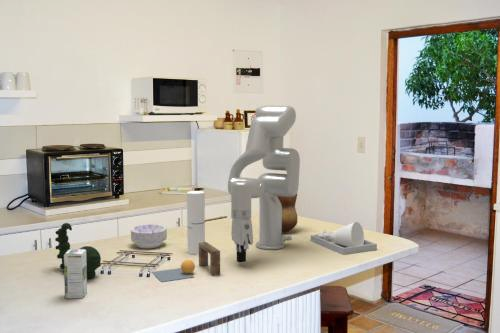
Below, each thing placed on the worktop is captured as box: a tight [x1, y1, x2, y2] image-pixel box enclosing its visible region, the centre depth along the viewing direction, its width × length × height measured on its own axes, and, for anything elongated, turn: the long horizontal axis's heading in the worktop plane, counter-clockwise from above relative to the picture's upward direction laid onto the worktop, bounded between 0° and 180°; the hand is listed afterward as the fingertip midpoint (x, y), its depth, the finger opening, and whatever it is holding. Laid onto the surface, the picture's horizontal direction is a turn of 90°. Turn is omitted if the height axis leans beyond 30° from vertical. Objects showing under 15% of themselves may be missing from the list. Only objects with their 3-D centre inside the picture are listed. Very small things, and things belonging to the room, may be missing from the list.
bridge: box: [198, 241, 221, 277], centre depth 197 cm, size 3×14×9 cm, turn 26°
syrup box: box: [63, 248, 88, 300], centre depth 170 cm, size 6×6×14 cm
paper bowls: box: [130, 223, 168, 250], centre depth 231 cm, size 15×15×8 cm
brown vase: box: [277, 193, 298, 233], centre depth 256 cm, size 14×13×25 cm
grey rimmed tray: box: [309, 232, 378, 256], centre depth 233 cm, size 17×25×2 cm
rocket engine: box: [318, 221, 365, 248], centre depth 232 cm, size 12×12×18 cm
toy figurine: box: [54, 222, 102, 280], centre depth 191 cm, size 9×19×25 cm
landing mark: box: [151, 267, 195, 283], centre depth 192 cm, size 12×12×1 cm
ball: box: [180, 259, 196, 274], centre depth 193 cm, size 5×5×5 cm
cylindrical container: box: [186, 190, 206, 255], centre depth 221 cm, size 7×7×25 cm
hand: (241, 261), depth 203 cm, fingers closed
